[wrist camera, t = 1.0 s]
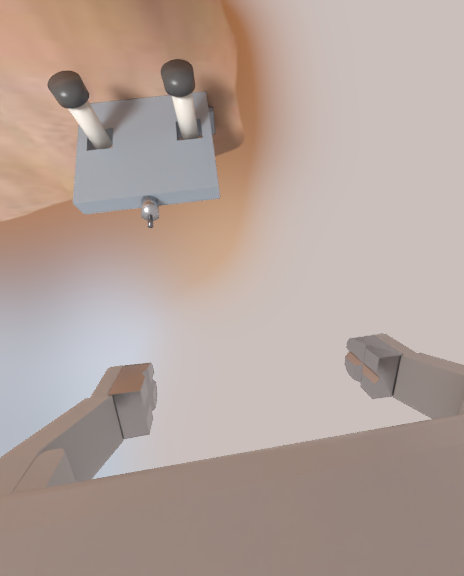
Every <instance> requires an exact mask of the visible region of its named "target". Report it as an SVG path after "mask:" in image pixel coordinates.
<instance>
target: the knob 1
mask: <svg viewBox="0 0 464 576" xmlns="http://www.w3.org/2000/svg"><path fill="white" fill-rule="evenodd" d="M48 88H49V90H50V91H51V93H52V94H53V95H54V97H55V98H56V100H57V101H58V103H59V104H60V105H61V106H62V107H64V108H68V109H69V110H70V112H71V113H72V115H73V116H74V118H75V119H76V121H77V122H78V124H79V125H80V126H81V128H82V129H83V131H84V132H85V134H86V135H87V137H88V138H89V140H90V141H91V143H92V144H93V146H94V147H95V149H106V148H110V147H111V145H112V141H111V139H110V138H109V136H108V134H107V132H106V131H105V129H104V127H103V126H102V124H101V122H100V120H99V119H98V117H97V115H96V113H95V112H94V110H93V108H92V107H91V105H90V103H89V101H88V98H89V92H88V90H87V88H86V87H85V85H84V83H83V81H82V80H81V78H80V76H79V75H78V74H77V73H76V72H73V71H61V72H58V73H56V74H55V75H53V76H52V77H51V78H50V79H49V81H48Z"/></svg>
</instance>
